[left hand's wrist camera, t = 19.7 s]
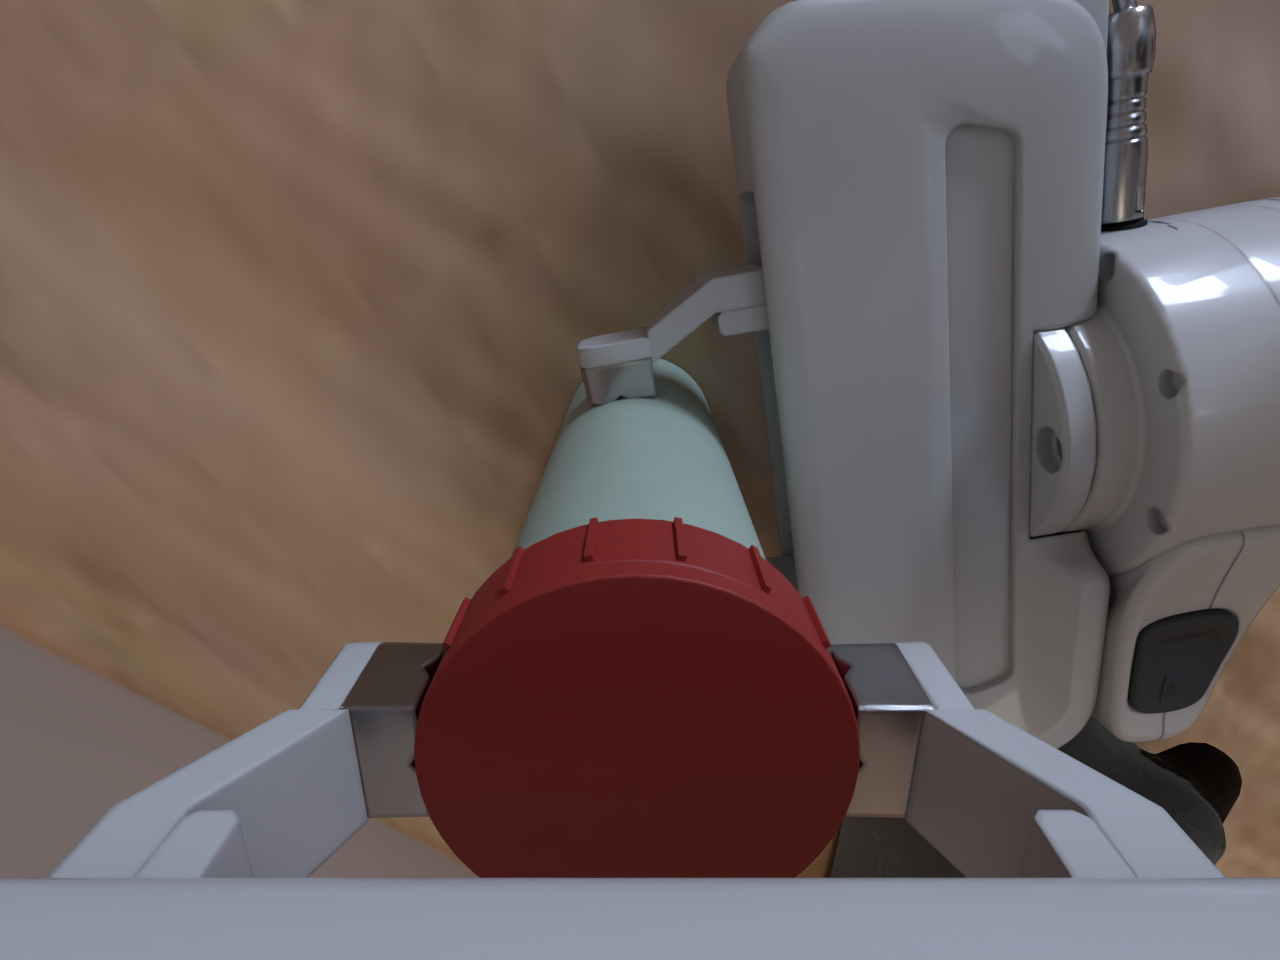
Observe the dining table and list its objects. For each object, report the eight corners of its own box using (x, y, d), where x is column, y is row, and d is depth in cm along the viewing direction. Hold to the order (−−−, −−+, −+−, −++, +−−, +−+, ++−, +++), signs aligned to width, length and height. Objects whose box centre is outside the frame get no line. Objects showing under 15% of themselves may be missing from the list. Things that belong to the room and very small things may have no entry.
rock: (1025, 998, 33) (1135, 1218, 26) (796, 980, 33) (840, 1199, 26) (1164, 681, 27) (1361, 852, 20) (883, 655, 27) (976, 819, 19)
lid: (634, 429, 9) (634, 473, 7) (908, 688, 10) (955, 771, 9) (367, 691, 10) (318, 774, 9) (639, 888, 12) (639, 989, 10)
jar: (667, 516, 25) (704, 912, 11) (543, 455, 24) (400, 795, 10) (737, 397, 23) (892, 673, 9) (607, 328, 22) (551, 511, 8)
